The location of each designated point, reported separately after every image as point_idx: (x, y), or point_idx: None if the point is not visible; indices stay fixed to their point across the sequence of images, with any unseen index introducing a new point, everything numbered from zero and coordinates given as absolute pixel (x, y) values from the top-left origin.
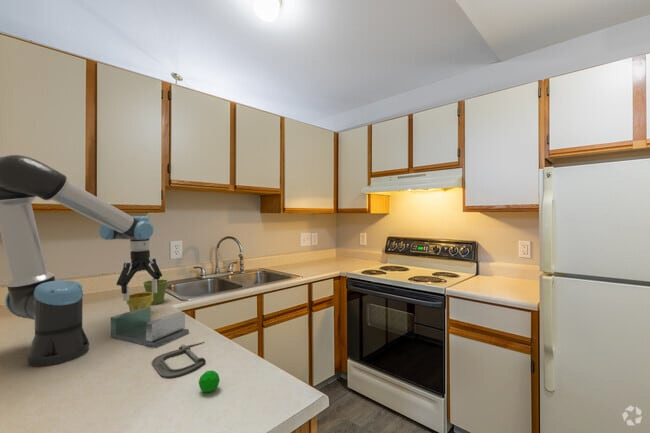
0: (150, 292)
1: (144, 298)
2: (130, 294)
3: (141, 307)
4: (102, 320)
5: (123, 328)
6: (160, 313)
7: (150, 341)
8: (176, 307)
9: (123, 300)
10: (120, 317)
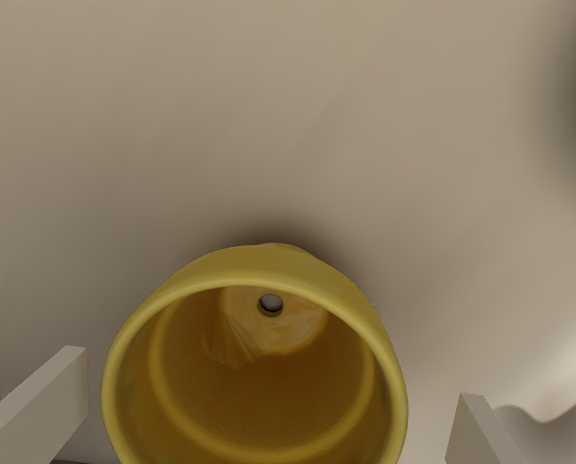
0: (395, 446)
1: None
2: (221, 281)
3: (216, 408)
4: (95, 96)
5: None
6: None
7: None
8: (539, 390)
9: (65, 347)
10: None
